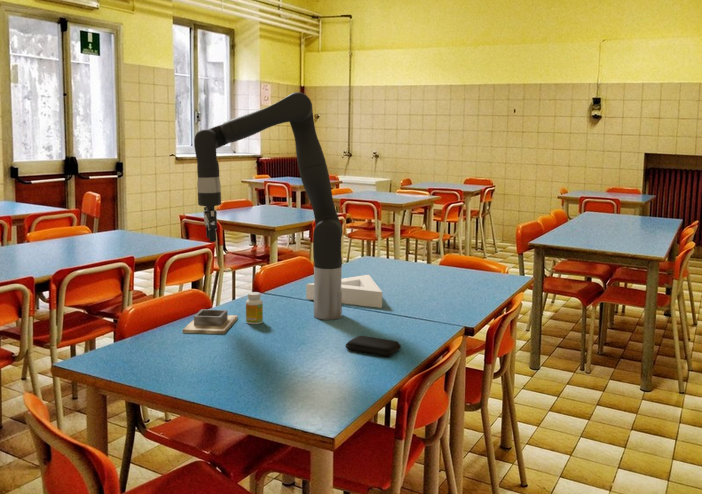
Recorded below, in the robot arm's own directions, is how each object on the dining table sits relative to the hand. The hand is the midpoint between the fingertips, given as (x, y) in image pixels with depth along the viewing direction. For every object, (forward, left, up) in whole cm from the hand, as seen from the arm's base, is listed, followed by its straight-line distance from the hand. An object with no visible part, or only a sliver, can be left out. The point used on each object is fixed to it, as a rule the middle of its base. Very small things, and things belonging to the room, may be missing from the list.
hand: (211, 239), depth 230 cm
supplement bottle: (-16, +7, -26) cm, 31 cm away
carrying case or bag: (-56, +31, -27) cm, 69 cm away
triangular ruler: (-47, -34, -27) cm, 64 cm away
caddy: (-3, +12, -26) cm, 29 cm away
